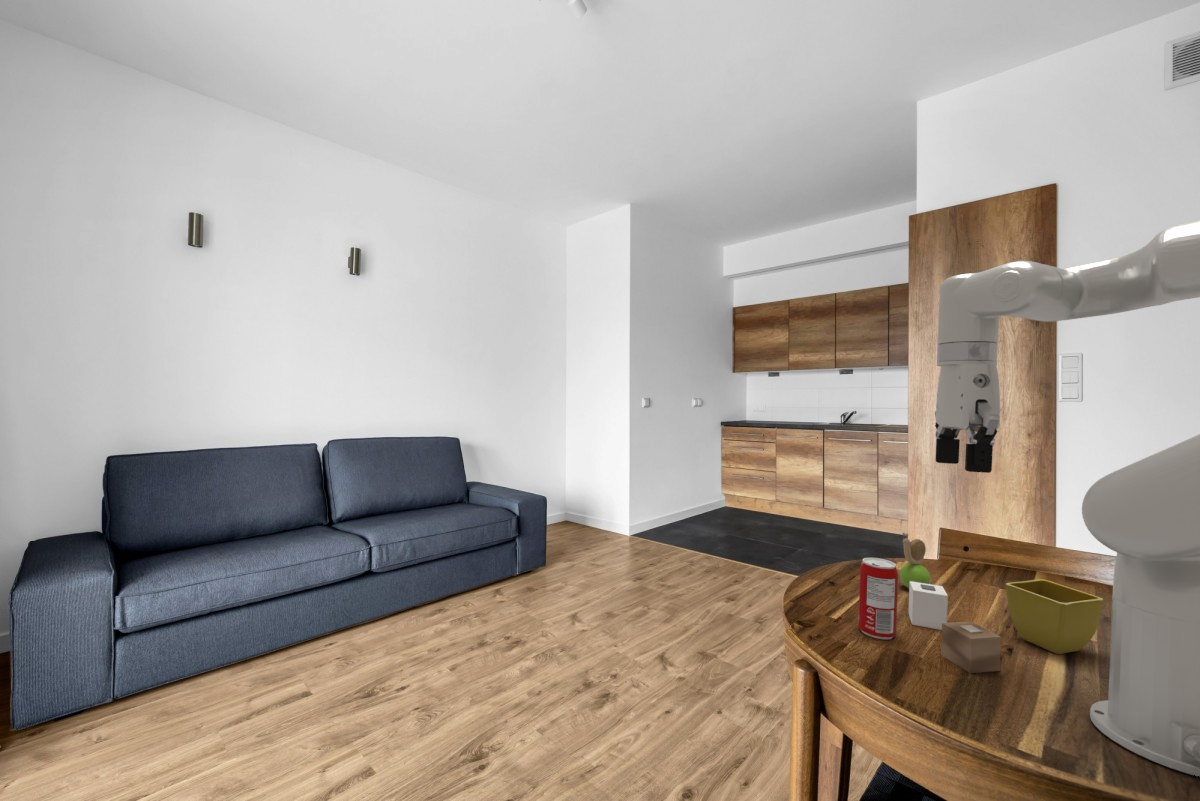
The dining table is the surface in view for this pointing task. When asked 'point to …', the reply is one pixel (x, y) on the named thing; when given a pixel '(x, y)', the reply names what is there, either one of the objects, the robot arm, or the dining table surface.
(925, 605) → the white block
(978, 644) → the walnut block
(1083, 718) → the dining table surface
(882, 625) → the soda can
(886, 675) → the dining table surface
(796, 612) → the dining table surface
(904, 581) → the snail figurine
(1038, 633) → the flower pot
